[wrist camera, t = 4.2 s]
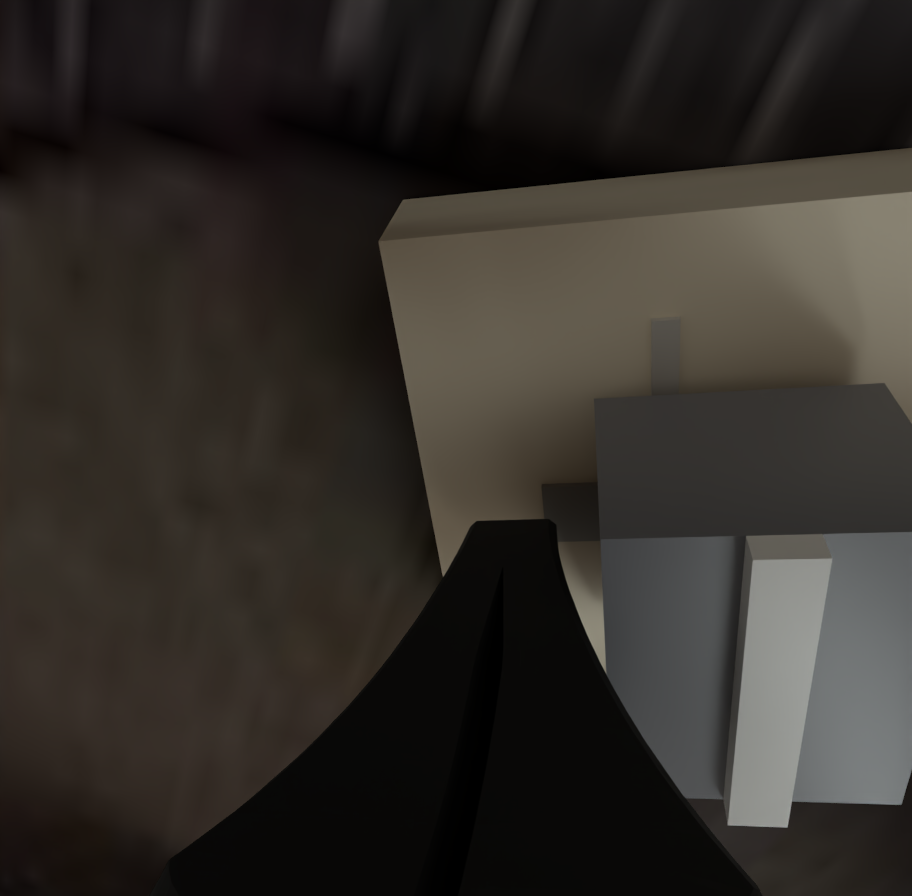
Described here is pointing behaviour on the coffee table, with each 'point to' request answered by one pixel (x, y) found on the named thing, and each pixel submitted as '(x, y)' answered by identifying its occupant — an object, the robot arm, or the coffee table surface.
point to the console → (633, 320)
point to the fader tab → (762, 591)
